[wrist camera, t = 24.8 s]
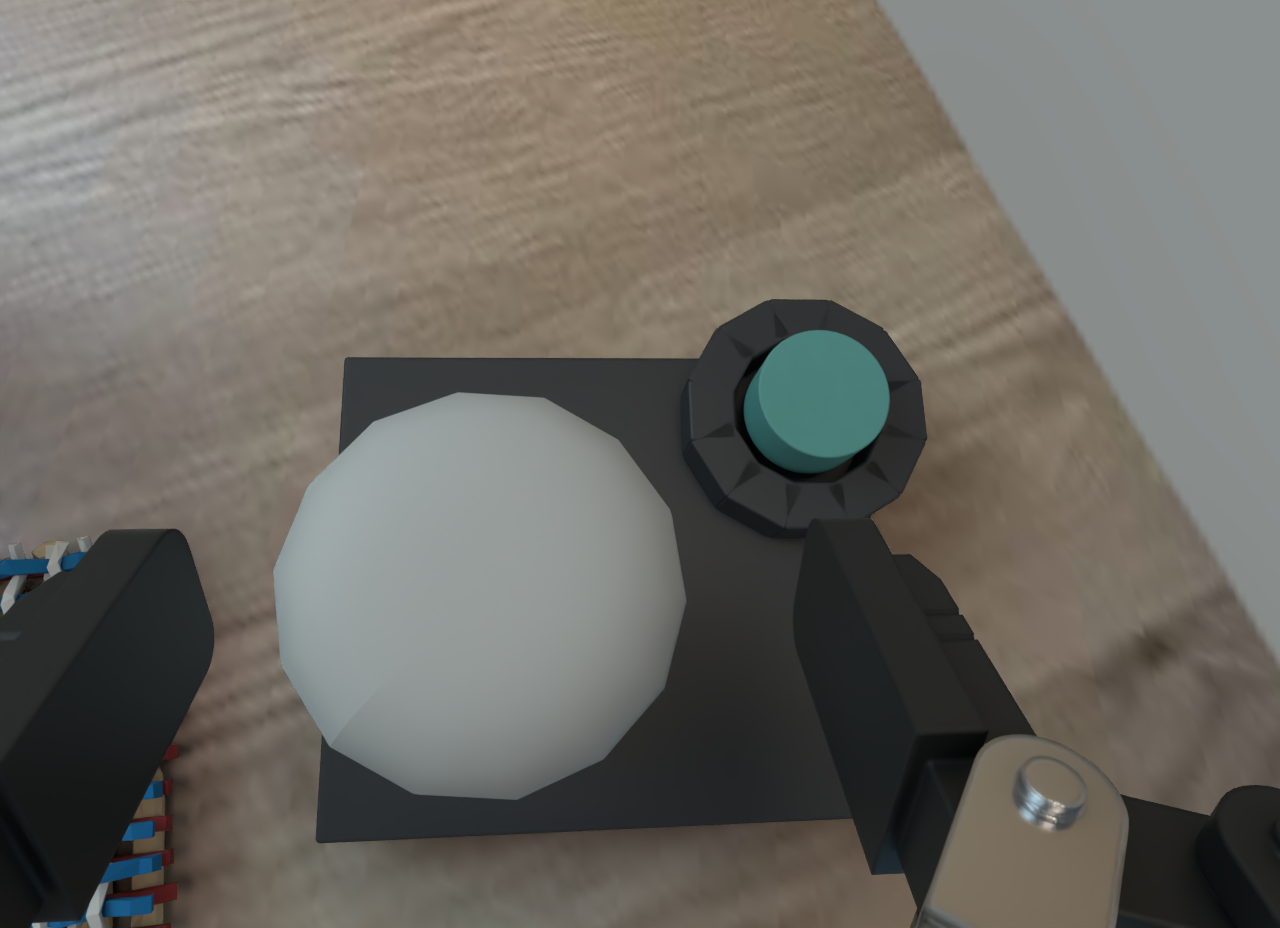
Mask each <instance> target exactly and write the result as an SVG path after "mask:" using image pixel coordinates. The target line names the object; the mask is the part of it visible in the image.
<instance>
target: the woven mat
mask: <svg viewBox="0 0 1280 928" xmlns="http://www.w3.org/2000/svg"><path fill="white" fill-rule="evenodd" d="M77 541H78V544H79V547H80V550H81V552H77V553H73V554H70V555H69V553H68V552H67V547H68V545H69V542H63V541H61V540H58V541H51V542H44V543H43V544H42V545H40V546H39V547H38V548H36V549H35V550H34V551H33V552H32V554H33V556H34V558H35V559H26V558H25V555H24V552H23V549H22V546H21V543H15V544H10V545H7V546H8V549H9V552H10V556H11V559H10V558H6V560H2V561H0V619H1V618H2V617H3V615H4V614H5V613H6V612H7V611H8V610H9V608H10V607H11V606H12V605H13V604H14V603H15V602H16V601H17V600H18V599H20V598H21V597H22V596H24V595H25V594H22V592H23V591H24V589H25V588H26V583H27V579H28V578H38V577H43V582H45V581H46V580H48V579H49V578H51V577H52V576H54V575H55V574H57V573H58V572H62V571H72V570H73V569H74V567H75V566H76V565H77V564H78V562H79V561H80V560H81V559H82V558H83V556H84V555H85V554H86V553H87V551H88V550H89V549H90V548H91V546H92V543H91V540H90V537H89V536H85V537H80V538H77ZM26 594H27V593H26ZM177 757H178V744H177V745H170V746H169V748H168V750H167V752H166V754H165V756H164V758H163V760H162V761H166V760H170V759H174V758H177ZM166 794H172V779H170V780H163V774H162V772H161V769H160V767H159V768H158V770H157V772H156V774H155V776H154V778H153V779H152V781H151V783H150V785H149V787H148V789H147V791H146V793H145V795H144V797H143V799H142V801H141V803H140V805H139V807H138V809H137V811H136V813H135V815H134V817H133V819H132V821H131V823H130V825H129V827H128V829H127V831H126V833H125V835H124V837H123V839H122V840H121V841H127V840H133V855H126V856H119V857H113V858H112V860H111V862H110V864H109V866H108V868H107V870H106V872H105V874H104V876H103V878H102V880H101V882H100V884H99V886H98V888H97V890H96V892H95V894H94V896H93V898H92V900H91V901H90V903H89V905H88V907H87V909H86V911H85V913H84V915H83V917H82V919H81V921H65V922H46V923H32V925H31V927H30V928H62V927H66V926H68V927H67V928H113V917H122V916H131V928H171V923H166V924H163V903H164V902H168V901H172V900H176V899H177V882H175V883H169V884H164V866H169V865H171V864H173V849H169V850H164V839H165V831H167V830H172V816H173V815H165V795H166ZM128 877H132V890H131V891H125V892H120V893H114V894H113V881H115V880H119V879H123V878H128Z"/></svg>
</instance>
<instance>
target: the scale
mask: <svg viewBox="0 0 1280 928" xmlns="http://www.w3.org/2000/svg"><path fill="white" fill-rule="evenodd" d="M811 330H826V331H832V332H837V333H840V334H843V335H846V336H848V337H850V338H852V339H854V340H855V341H857V342H859V343H860V344H861V345H863V346H864V347H865V348H866V349H867V350H868V351H869V352H870V353H871V354H872V355H873V356H874V357H875V358H876V360H877V361H878V363H879V364H880V366H881V367H882V369H883V372H884V374H885V376H886V379H887V382H888V387H889V394H890V404H889V412H888V416H887V419H886V421H885V424H884V426H883V428H882V430H881V431H880V433H879V434H878V435H877V437H876V438H875V439H874V440H873V441H872V442H871V443H870V444H869V445H868V446H866V447H865V448H863V449H862V450H861V451H859V452H858V453H856V454H855V455H854V456H852V457H851V458H849V459H848V460H847V461H845V462H844V463H842V464H841V465H839V466H837V467H836V468H834V469H831V470H828V471H826V472H821V473H813V474H805V473H797V472H793V471H789V470H786V469H784V468H782V467H780V466H778V465H776V464H774V463H773V462H771V461H770V460H769V459H767V458H766V457H765V456H764V455H763V454H762V453H761V452H760V451H759V450H758V448H757V447H756V446H755V444H754V443H753V441H752V439H751V438H750V436H749V433H748V431H747V428H746V424H745V420H744V400H745V396H746V392H747V389H748V387H749V385H750V383H751V381H752V380H753V378H754V377H755V375H756V373H757V372H758V370H759V369H760V367H761V366H762V364H763V363H764V361H765V360H766V358H767V357H768V355H769V354H770V353H771V351H772V350H773V349H774V348H775V347H776V346H777V345H778V344H779V343H781V342H782V341H784V340H785V339H787V338H789V337H791V336H793V335H795V334H798V333H801V332H805V331H811ZM457 392H460V393H476V394H492V395H508V396H524V397H540V398H545V399H547V400H549V401H551V402H553V403H554V404H556V405H558V406H560V407H561V408H563V409H565V410H567V411H568V412H570V413H572V414H574V415H575V416H577V417H579V418H581V419H583V420H584V421H586V422H588V423H590V424H591V425H593V426H595V427H597V428H598V429H600V430H602V431H604V432H605V433H607V434H609V435H611V436H613V437H614V438H616V439H618V440H619V441H620V443H621V444H622V445H623V447H624V448H625V449H626V451H627V452H628V453H629V455H630V456H631V457H632V459H633V460H634V462H635V463H636V464H637V466H638V467H639V468H640V470H641V471H642V472H643V474H644V475H645V476H646V478H647V479H648V480H649V482H650V483H651V484H652V486H653V487H654V488H655V490H656V491H657V493H658V494H659V495H660V497H661V498H662V499H663V501H664V502H665V503H666V505H667V506H668V507H669V509H670V511H671V514H672V519H673V524H674V530H675V536H676V542H677V548H678V553H679V559H680V565H681V571H682V577H683V582H684V588H685V594H686V600H687V602H686V606H685V609H684V613H683V617H682V621H681V625H680V629H679V633H678V637H677V641H676V645H675V649H674V653H673V657H672V661H671V665H670V669H669V673H668V677H667V681H666V685H665V689H664V690H663V691H662V692H661V693H660V694H659V696H658V697H657V698H656V699H655V700H654V701H653V703H652V704H651V705H650V706H649V707H648V708H647V710H646V711H645V712H644V713H643V714H642V715H641V716H640V718H639V719H638V720H637V721H636V722H635V723H634V725H633V726H632V727H631V728H630V729H629V730H628V732H627V733H626V734H625V735H624V736H623V737H622V739H621V740H620V741H619V742H618V743H617V744H616V746H615V747H614V748H613V749H612V750H611V751H610V753H609V754H608V755H607V756H606V757H605V758H604V759H603V760H601V761H599V762H597V763H595V764H593V765H591V766H588V767H586V768H584V769H582V770H580V771H578V772H576V773H573V774H571V775H569V776H567V777H565V778H563V779H561V780H558V781H556V782H554V783H552V784H550V785H548V786H546V787H543V788H541V789H539V790H537V791H535V792H533V793H531V794H528V795H526V796H524V797H522V798H520V799H518V800H510V799H491V798H472V797H454V796H435V795H419V794H413V793H411V792H409V791H407V790H406V789H404V788H402V787H400V786H399V785H397V784H395V783H393V782H391V781H390V780H388V779H386V778H384V777H383V776H381V775H379V774H377V773H375V772H374V771H372V770H370V769H368V768H367V767H365V766H363V765H361V764H359V763H358V762H356V761H354V760H352V759H351V758H349V757H347V756H345V755H343V754H342V753H340V752H338V751H336V750H335V749H333V748H331V747H330V746H329V745H328V743H327V741H326V740H325V738H324V736H323V735H322V744H321V761H320V777H319V794H318V811H317V827H316V841H317V842H318V843H336V842H358V841H379V840H401V839H422V838H444V837H465V836H487V835H508V834H530V833H551V832H573V831H594V830H616V829H637V828H659V827H680V826H702V825H723V824H745V823H766V822H788V821H809V820H831V819H852V815H851V812H850V809H849V806H848V803H847V800H846V797H845V794H844V791H843V788H842V785H841V782H840V779H839V776H838V773H837V770H836V767H835V764H834V761H833V758H832V755H831V752H830V749H829V746H828V743H827V740H826V737H825V734H824V731H823V728H822V725H821V722H820V719H819V717H818V714H817V711H816V708H815V705H814V702H813V699H812V696H811V693H810V690H809V687H808V684H807V681H806V678H805V675H804V672H803V669H802V666H801V663H800V660H799V657H798V654H797V651H796V647H795V641H794V634H793V606H794V600H795V594H796V589H797V583H798V578H799V572H800V567H801V561H802V556H803V550H804V545H805V539H806V534H807V530H808V526H809V524H810V522H811V521H812V519H814V518H870V515H872V514H873V513H875V512H876V511H878V510H880V509H881V508H883V507H884V506H886V505H887V504H889V503H891V502H892V501H894V500H895V499H897V498H898V497H899V496H900V494H901V493H903V491H904V488H905V486H906V484H907V482H908V480H909V478H910V475H911V473H912V471H913V469H914V467H915V465H916V463H917V460H918V458H919V456H920V454H921V452H922V450H923V447H924V445H925V441H926V440H927V433H926V424H925V415H924V407H923V398H922V389H921V381H920V380H918V376H917V375H916V373H915V372H914V371H913V369H912V368H911V366H910V365H909V363H908V362H907V361H906V359H905V358H904V356H903V355H902V353H901V352H900V351H899V349H898V348H897V346H896V345H895V343H894V342H893V341H892V339H891V338H890V336H889V335H888V333H887V332H886V331H885V330H883V328H882V327H880V326H878V325H877V324H875V323H873V322H871V321H869V320H867V319H865V318H863V317H861V316H860V315H858V314H856V313H854V312H852V311H850V310H848V309H846V308H845V307H843V306H841V305H839V304H837V303H835V302H833V301H828V300H789V299H772V300H769V301H764V302H763V303H761V304H759V305H757V306H755V307H754V308H752V309H750V310H748V311H746V312H745V313H743V314H741V315H739V316H737V317H736V318H734V319H732V320H730V321H728V322H727V323H725V324H723V325H721V326H719V328H717V329H716V330H715V331H714V333H713V335H712V337H711V339H710V340H709V342H708V344H707V346H706V347H705V349H704V351H703V353H702V355H701V356H700V358H699V359H648V358H362V357H348V358H345V361H344V378H343V395H342V411H341V428H340V444H339V455H340V454H341V453H342V452H343V451H344V450H345V449H346V448H347V447H348V446H349V445H350V444H351V443H352V442H353V441H354V440H355V439H356V438H357V437H358V436H359V435H360V434H361V433H362V432H364V431H365V430H366V429H367V428H368V427H369V426H370V425H371V424H372V423H373V422H374V421H377V420H380V419H383V418H385V417H388V416H391V415H394V414H397V413H400V412H403V411H406V410H408V409H411V408H414V407H417V406H420V405H423V404H426V403H429V402H431V401H434V400H437V399H440V398H443V397H446V396H449V395H452V394H454V393H457Z"/></svg>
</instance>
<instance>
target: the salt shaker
mask: <svg viewBox="0 0 1280 928" xmlns="http://www.w3.org/2000/svg"><path fill="white" fill-rule="evenodd" d="M273 580H274V591H275V603H276V614H277V626H278V637H279V649H280V661H281V666H282V668H283V670H284V671H285V673H286V675H287V676H288V678H289V680H290V681H291V683H292V685H293V686H294V688H295V690H296V691H297V693H298V695H299V696H300V698H301V700H302V701H303V703H304V705H305V706H306V708H307V710H308V711H309V713H310V715H311V716H312V718H313V720H314V721H315V723H316V725H317V726H318V728H319V730H320V731H321V733H322V735H323V736H324V738H325V740H326V741H327V743H328V745H329V746H330V747H331V748H333V749H335V750H336V751H338V752H340V753H342V754H343V755H345V756H347V757H349V758H351V759H352V760H354V761H356V762H358V763H359V764H361V765H363V766H365V767H367V768H368V769H370V770H372V771H374V772H375V773H377V774H379V775H381V776H383V777H384V778H386V779H388V780H390V781H391V782H393V783H395V784H397V785H399V786H400V787H402V788H404V789H406V790H407V791H409V792H411V793H413V794H419V795H435V796H454V797H472V798H491V799H510V800H518V799H520V798H522V797H524V796H526V795H528V794H531V793H533V792H535V791H537V790H539V789H541V788H543V787H546V786H548V785H550V784H552V783H554V782H556V781H558V780H561V779H563V778H565V777H567V776H569V775H571V774H573V773H576V772H578V771H580V770H582V769H584V768H586V767H588V766H591V765H593V764H595V763H597V762H599V761H601V760H603V759H604V758H605V757H606V756H607V755H608V754H609V753H610V751H611V750H612V749H613V748H614V747H615V746H616V744H617V743H618V742H619V741H620V740H621V739H622V737H623V736H624V735H625V734H626V733H627V732H628V730H629V729H630V728H631V727H632V726H633V725H634V723H635V722H636V721H637V720H638V719H639V718H640V716H641V715H642V714H643V713H644V712H645V711H646V710H647V708H648V707H649V706H650V705H651V704H652V703H653V701H654V700H655V699H656V698H657V697H658V696H659V694H660V693H661V692H662V691H663V690H664V689H665V685H666V681H667V677H668V673H669V669H670V665H671V661H672V657H673V653H674V649H675V645H676V641H677V637H678V633H679V629H680V625H681V621H682V617H683V613H684V609H685V606H686V602H687V600H686V594H685V588H684V582H683V577H682V571H681V565H680V559H679V553H678V548H677V542H676V536H675V530H674V524H673V519H672V514H671V511H670V509H669V507H668V506H667V505H666V503H665V502H664V501H663V499H662V498H661V497H660V495H659V494H658V493H657V491H656V490H655V488H654V487H653V486H652V484H651V483H650V482H649V480H648V479H647V478H646V476H645V475H644V474H643V472H642V471H641V470H640V468H639V467H638V466H637V464H636V463H635V462H634V460H633V459H632V457H631V456H630V455H629V453H628V452H627V451H626V449H625V448H624V447H623V445H622V444H621V443H620V441H619V440H618V439H616V438H614V437H613V436H611V435H609V434H607V433H605V432H604V431H602V430H600V429H598V428H597V427H595V426H593V425H591V424H590V423H588V422H586V421H584V420H583V419H581V418H579V417H577V416H575V415H574V414H572V413H570V412H568V411H567V410H565V409H563V408H561V407H560V406H558V405H556V404H554V403H553V402H551V401H549V400H547V399H545V398H540V397H524V396H508V395H492V394H476V393H460V392H457V393H454V394H452V395H449V396H446V397H443V398H440V399H437V400H434V401H431V402H429V403H426V404H423V405H420V406H417V407H414V408H411V409H408V410H406V411H403V412H400V413H397V414H394V415H391V416H388V417H385V418H383V419H380V420H377V421H374V422H373V423H372V424H371V425H370V426H369V427H368V428H367V429H366V430H365V431H364V432H362V433H361V434H360V435H359V436H358V437H357V438H356V439H355V440H354V441H353V442H352V443H351V444H350V445H349V446H348V447H347V448H346V449H345V450H344V451H343V452H342V453H341V454H340V455H339V456H338V457H337V458H336V459H335V460H334V461H333V462H332V463H331V464H330V465H329V466H328V467H327V468H326V469H325V470H324V471H323V472H322V473H321V474H320V475H319V476H318V477H317V478H315V479H314V480H313V481H312V482H311V483H310V484H309V485H308V487H307V490H306V492H305V495H304V497H303V500H302V502H301V504H300V507H299V509H298V512H297V514H296V517H295V519H294V522H293V524H292V526H291V529H290V531H289V534H288V536H287V539H286V541H285V543H284V546H283V548H282V551H281V553H280V556H279V558H278V560H277V563H276V565H275V568H274V570H273Z"/></svg>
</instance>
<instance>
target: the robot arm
mask: <svg viewBox="0 0 1280 928" xmlns="http://www.w3.org/2000/svg"><path fill="white" fill-rule="evenodd" d="M793 634H794V641H795V647H796V651H797V654H798V657H799V660H800V663H801V666H802V669H803V672H804V675H805V678H806V681H807V684H808V687H809V690H810V693H811V696H812V699H813V702H814V705H815V708H816V711H817V714H818V717H819V719H820V722H821V725H822V728H823V731H824V734H825V737H826V740H827V743H828V746H829V749H830V752H831V755H832V758H833V761H834V764H835V767H836V770H837V773H838V776H839V779H840V782H841V785H842V788H843V791H844V794H845V797H846V800H847V803H848V806H849V809H850V812H851V815H852V818H853V820H854V823H855V826H856V829H857V832H858V835H859V838H860V841H861V844H862V847H863V850H864V853H865V856H866V859H867V862H868V865H869V868H870V871H871V874H872V875H879V874H898V873H905V876H906V879H907V881H908V884H909V887H910V889H911V892H912V895H913V897H914V900H915V903H916V905H917V910H916V912H915V915H914V918H913V921H912V924H911V926H910V928H1280V789H1279V788H1274V787H1269V786H1260V785H1249V786H1241V787H1238V788H1234V789H1232V790H1231V791H1229V792H1227V793H1226V794H1225V795H1224V796H1223V797H1222V798H1221V800H1220V801H1219V803H1218V804H1217V806H1216V807H1215V809H1214V810H1213V812H1212V814H1211V815H1210V816H1208V815H1204V814H1200V813H1196V812H1191V811H1187V810H1183V809H1179V808H1174V807H1170V806H1166V805H1162V804H1158V803H1153V802H1149V801H1145V800H1141V799H1136V798H1132V797H1128V796H1125V795H1122V794H1119V792H1118V791H1117V789H1116V787H1115V786H1114V785H1113V783H1112V782H1111V781H1110V780H1109V779H1108V777H1107V776H1106V775H1105V774H1104V773H1103V772H1102V771H1101V770H1100V769H1099V768H1098V767H1097V766H1095V765H1094V764H1093V763H1091V762H1090V761H1089V760H1088V759H1086V758H1085V757H1083V756H1082V755H1080V754H1079V753H1077V752H1075V751H1074V750H1072V749H1070V748H1068V747H1066V746H1064V745H1062V744H1060V743H1057V742H1054V741H1052V740H1049V739H1046V738H1042V737H1038V736H1037V735H1036V734H1035V733H1034V731H1033V729H1032V728H1031V726H1030V724H1029V723H1028V721H1027V719H1026V718H1025V716H1024V715H1023V713H1022V711H1021V710H1020V708H1019V706H1018V705H1017V703H1016V701H1015V700H1014V698H1013V697H1012V695H1011V693H1010V692H1009V690H1008V688H1007V687H1006V685H1005V684H1004V682H1003V680H1002V679H1001V677H1000V675H999V674H998V672H997V670H996V669H995V667H994V666H993V664H992V662H991V661H990V659H989V657H988V656H987V654H986V652H985V651H984V649H983V648H982V646H981V644H980V643H979V641H978V640H974V633H973V631H972V630H971V628H970V626H969V625H968V623H967V621H966V620H965V618H964V616H963V615H959V608H958V607H957V605H956V603H955V602H954V600H953V598H952V597H951V595H950V594H949V592H948V590H947V589H946V587H945V585H944V584H943V582H942V580H941V579H940V578H938V577H937V576H936V575H935V574H934V573H932V572H931V571H930V570H929V569H927V568H926V567H925V566H924V565H923V564H921V563H920V562H919V561H918V560H916V559H915V558H914V557H913V556H912V555H910V554H908V555H892V554H891V552H890V550H889V548H888V546H887V545H886V543H885V541H884V539H883V537H882V536H881V534H880V532H879V530H878V528H877V526H876V525H875V523H874V522H873V521H872V520H871V519H870V518H814V519H812V521H811V522H810V524H809V526H808V530H807V534H806V539H805V545H804V550H803V556H802V561H801V567H800V572H799V578H798V583H797V589H796V594H795V600H794V606H793ZM213 648H214V627H213V622H212V618H211V615H210V611H209V608H208V605H207V602H206V599H205V596H204V592H203V589H202V586H201V583H200V580H199V577H198V573H197V570H196V567H195V564H194V561H193V558H192V554H191V551H190V548H189V545H188V542H187V540H186V538H185V536H184V535H183V534H182V533H181V532H180V531H179V530H177V529H123V530H109V531H106V532H105V533H103V534H102V535H101V536H100V537H99V538H98V539H97V540H96V542H95V543H94V544H93V545H92V546H91V548H90V549H89V550H88V551H87V553H86V554H85V555H84V556H83V558H82V559H81V560H80V561H79V562H78V564H77V565H76V566H75V567H74V569H73V570H72V571H62V572H58V573H57V574H55V575H54V576H52V577H51V578H49V579H48V580H46V581H45V582H43V583H42V584H40V585H39V586H37V587H36V588H34V589H33V590H31V591H30V592H28V593H27V594H25V595H24V596H22V597H21V598H20V599H18V600H17V601H16V602H15V603H14V604H13V605H12V606H11V607H10V608H9V610H8V611H7V612H6V613H5V614H4V615H3V617H2V618H1V619H0V928H30V927H31V925H32V923H46V922H65V921H81V919H82V917H83V915H84V913H85V911H86V909H87V907H88V905H89V903H90V901H91V900H92V898H93V896H94V894H95V892H96V890H97V888H98V886H99V884H100V882H101V880H102V878H103V876H104V874H105V872H106V870H107V868H108V866H109V864H110V862H111V860H112V858H113V856H114V854H115V852H116V850H117V848H118V846H119V844H120V842H121V840H122V839H123V837H124V835H125V833H126V831H127V829H128V827H129V825H130V823H131V821H132V819H133V817H134V815H135V813H136V811H137V809H138V807H139V805H140V803H141V801H142V799H143V797H144V795H145V793H146V791H147V789H148V787H149V785H150V783H151V781H152V779H153V778H154V776H155V774H156V772H157V770H158V768H159V766H160V764H161V762H162V760H163V758H164V756H165V754H166V752H167V750H168V748H169V746H170V744H171V742H172V740H173V738H174V736H175V734H176V732H177V730H178V728H179V726H180V724H181V722H182V720H183V718H184V716H185V715H186V713H187V711H188V709H189V707H190V705H191V703H192V701H193V699H194V697H195V695H196V693H197V691H198V689H199V687H200V685H201V683H202V681H203V679H204V677H205V675H206V673H207V671H208V669H209V666H210V663H211V659H212V655H213Z"/></svg>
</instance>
